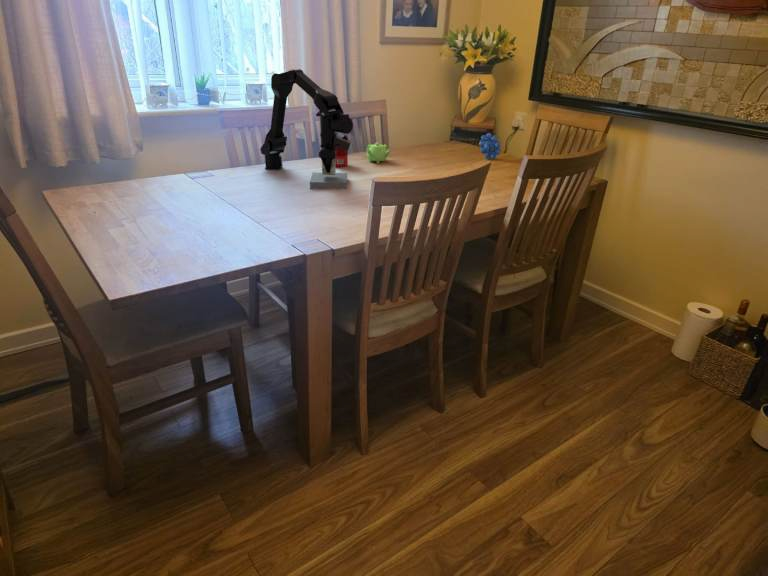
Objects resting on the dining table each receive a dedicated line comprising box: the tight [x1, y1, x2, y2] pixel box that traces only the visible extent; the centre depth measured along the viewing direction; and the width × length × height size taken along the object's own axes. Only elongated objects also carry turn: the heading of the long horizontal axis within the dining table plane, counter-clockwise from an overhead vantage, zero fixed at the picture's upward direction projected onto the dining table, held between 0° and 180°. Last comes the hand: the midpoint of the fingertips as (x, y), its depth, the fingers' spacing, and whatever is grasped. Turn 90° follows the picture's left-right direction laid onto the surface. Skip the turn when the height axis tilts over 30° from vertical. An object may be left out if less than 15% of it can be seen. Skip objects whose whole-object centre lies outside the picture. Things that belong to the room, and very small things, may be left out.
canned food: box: [334, 147, 349, 168], centre depth 225 cm, size 8×8×11 cm
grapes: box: [478, 132, 502, 160], centre depth 243 cm, size 12×7×12 cm, turn 50°
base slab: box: [309, 172, 348, 190], centre depth 201 cm, size 14×14×2 cm
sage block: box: [321, 159, 337, 175], centre depth 198 cm, size 5×5×5 cm
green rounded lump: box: [365, 142, 392, 164], centre depth 234 cm, size 11×12×8 cm
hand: (328, 170), depth 199 cm, fingers closed on sage block, 5 cm apart
